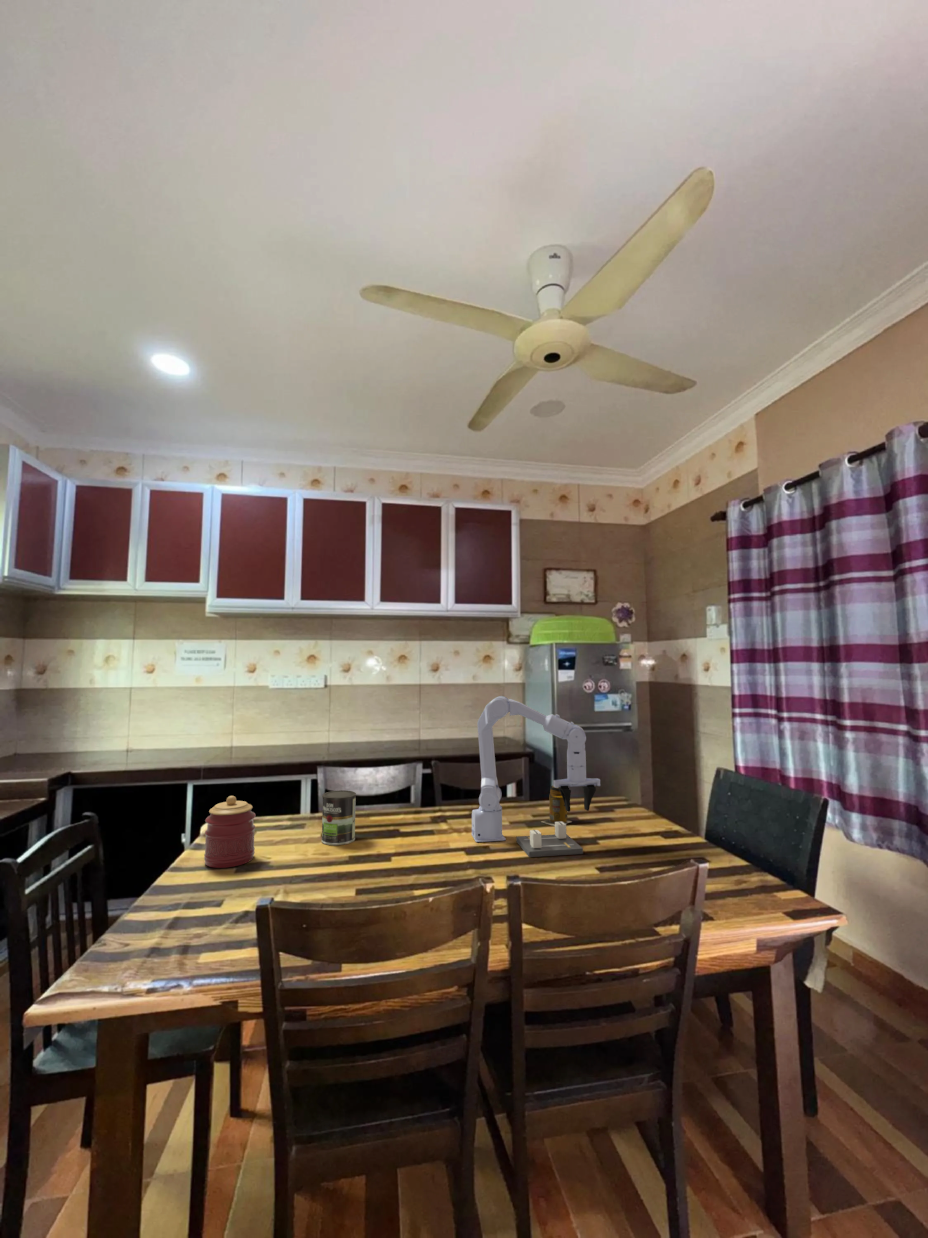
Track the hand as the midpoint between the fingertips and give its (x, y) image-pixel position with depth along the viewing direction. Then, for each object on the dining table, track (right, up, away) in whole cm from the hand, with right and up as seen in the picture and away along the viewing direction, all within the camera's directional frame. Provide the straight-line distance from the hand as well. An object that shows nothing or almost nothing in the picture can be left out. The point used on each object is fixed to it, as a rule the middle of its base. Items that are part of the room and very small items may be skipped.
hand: (577, 810), depth 171 cm
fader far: (-5, -8, -2) cm, 9 cm away
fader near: (-14, -7, -10) cm, 19 cm away
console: (-10, -9, -6) cm, 15 cm away
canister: (-100, -9, -16) cm, 102 cm away
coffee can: (-74, -10, +2) cm, 75 cm away
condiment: (-3, -11, +20) cm, 24 cm away
